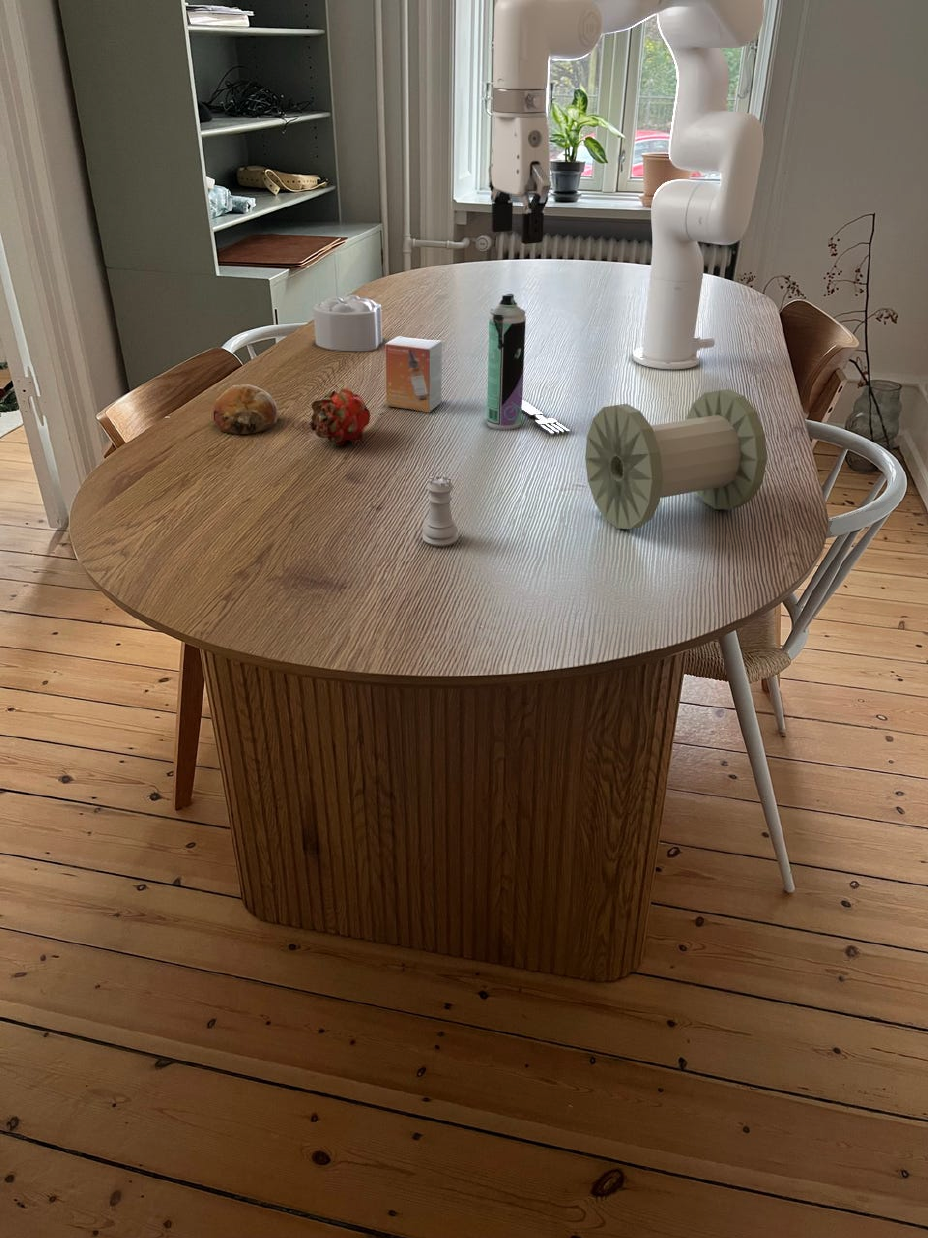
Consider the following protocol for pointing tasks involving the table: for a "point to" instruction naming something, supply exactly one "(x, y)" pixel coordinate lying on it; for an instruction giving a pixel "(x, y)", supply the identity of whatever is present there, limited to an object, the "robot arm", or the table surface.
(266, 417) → the bread roll
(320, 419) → the dragon fruit
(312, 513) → the table surface
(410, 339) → the small box
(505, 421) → the spray can
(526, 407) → the fork
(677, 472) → the spool
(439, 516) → the rook chess piece
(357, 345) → the lumpy-topped squat cylinder
